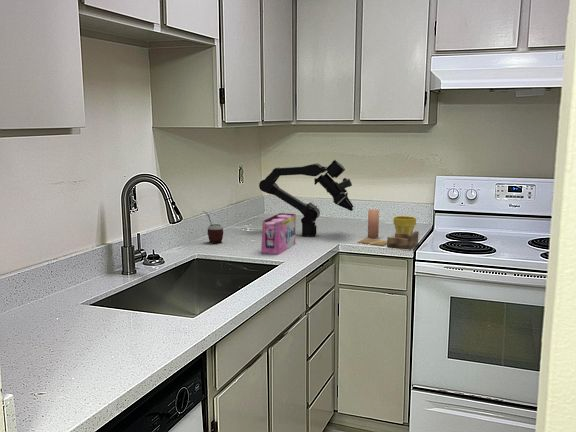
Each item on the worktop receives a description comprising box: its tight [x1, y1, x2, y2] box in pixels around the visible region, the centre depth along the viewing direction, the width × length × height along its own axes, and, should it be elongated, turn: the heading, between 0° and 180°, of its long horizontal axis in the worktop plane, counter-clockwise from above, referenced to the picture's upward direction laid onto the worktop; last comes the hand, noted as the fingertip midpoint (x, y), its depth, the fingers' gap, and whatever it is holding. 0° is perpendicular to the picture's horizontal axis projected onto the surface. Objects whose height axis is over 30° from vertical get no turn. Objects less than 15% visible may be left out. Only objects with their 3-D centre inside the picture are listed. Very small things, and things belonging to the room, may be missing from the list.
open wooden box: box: [386, 230, 420, 251], centre depth 247 cm, size 10×12×6 cm
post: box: [367, 209, 380, 239], centre depth 265 cm, size 5×5×13 cm
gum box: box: [260, 212, 297, 255], centre depth 240 cm, size 24×8×14 cm, turn 161°
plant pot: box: [393, 215, 417, 234], centre depth 264 cm, size 10×10×10 cm
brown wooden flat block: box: [357, 237, 387, 247], centre depth 254 cm, size 4×10×12 cm
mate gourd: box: [202, 210, 224, 245], centre depth 249 cm, size 8×8×15 cm
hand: (352, 208), depth 263 cm, fingers open, 9 cm apart
